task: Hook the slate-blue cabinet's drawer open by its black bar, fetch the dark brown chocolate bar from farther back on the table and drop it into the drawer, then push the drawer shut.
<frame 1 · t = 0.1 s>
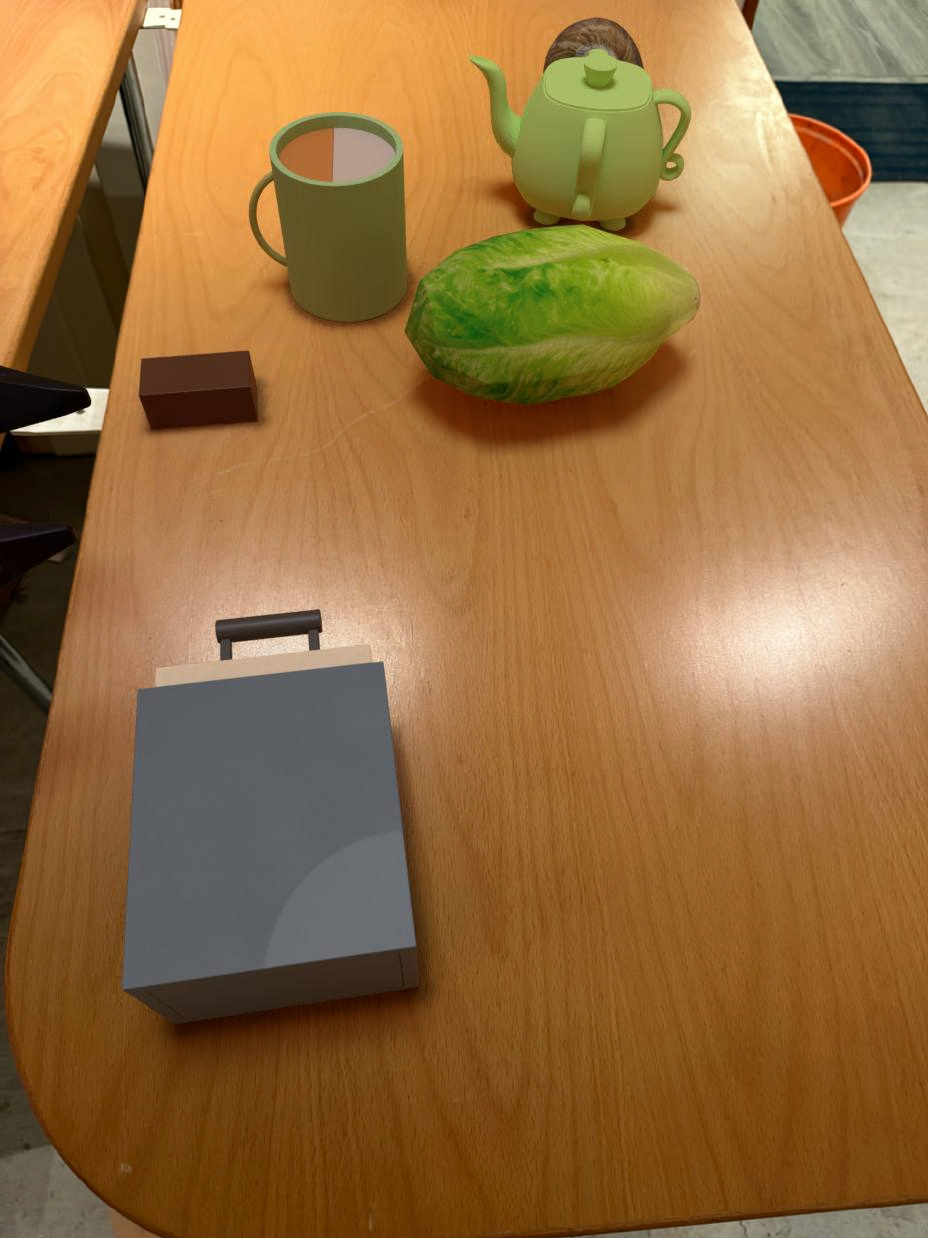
hand: (82, 460, 45), 16 cm above the table, tool horizontal, fingers open, 9 cm apart
mug: (335, 284, 78), on the table
cabinet: (291, 867, 50), on the table
chocolate bar: (205, 407, 69), on the table
seashell: (592, 109, 95), on the table
teapot: (568, 201, 86), on the table
lettuce: (546, 380, 72), on the table
drawer: (277, 761, 49), point 5 cm above the table, slide at 0.5 cm
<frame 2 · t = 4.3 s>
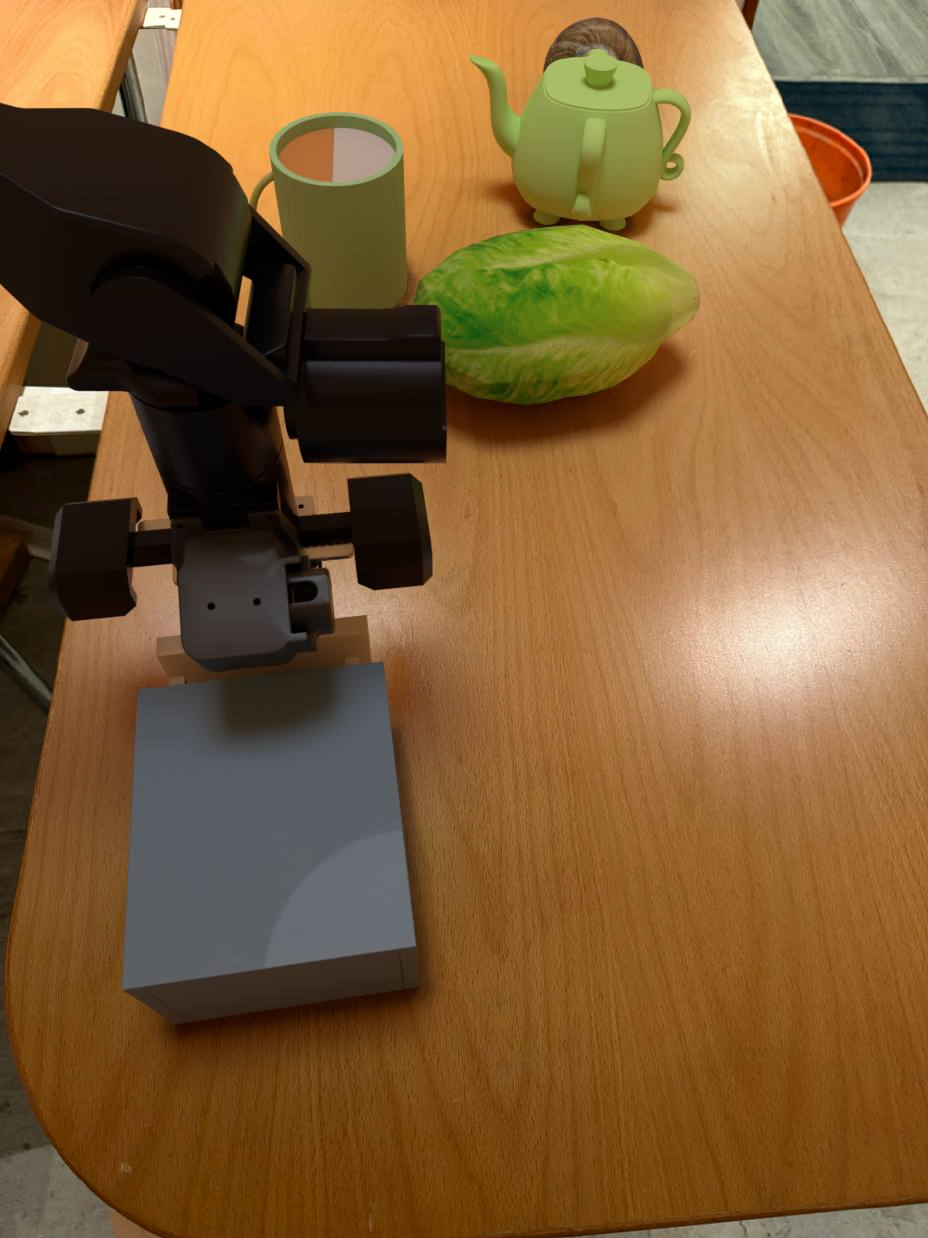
hand: (271, 629, 53), 5 cm above the table, tool pointing down, fingers closed, pressing on drawer
drawer: (275, 730, 50), point 5 cm above the table, slide at 2.4 cm, touching gripper
everything else where it was.
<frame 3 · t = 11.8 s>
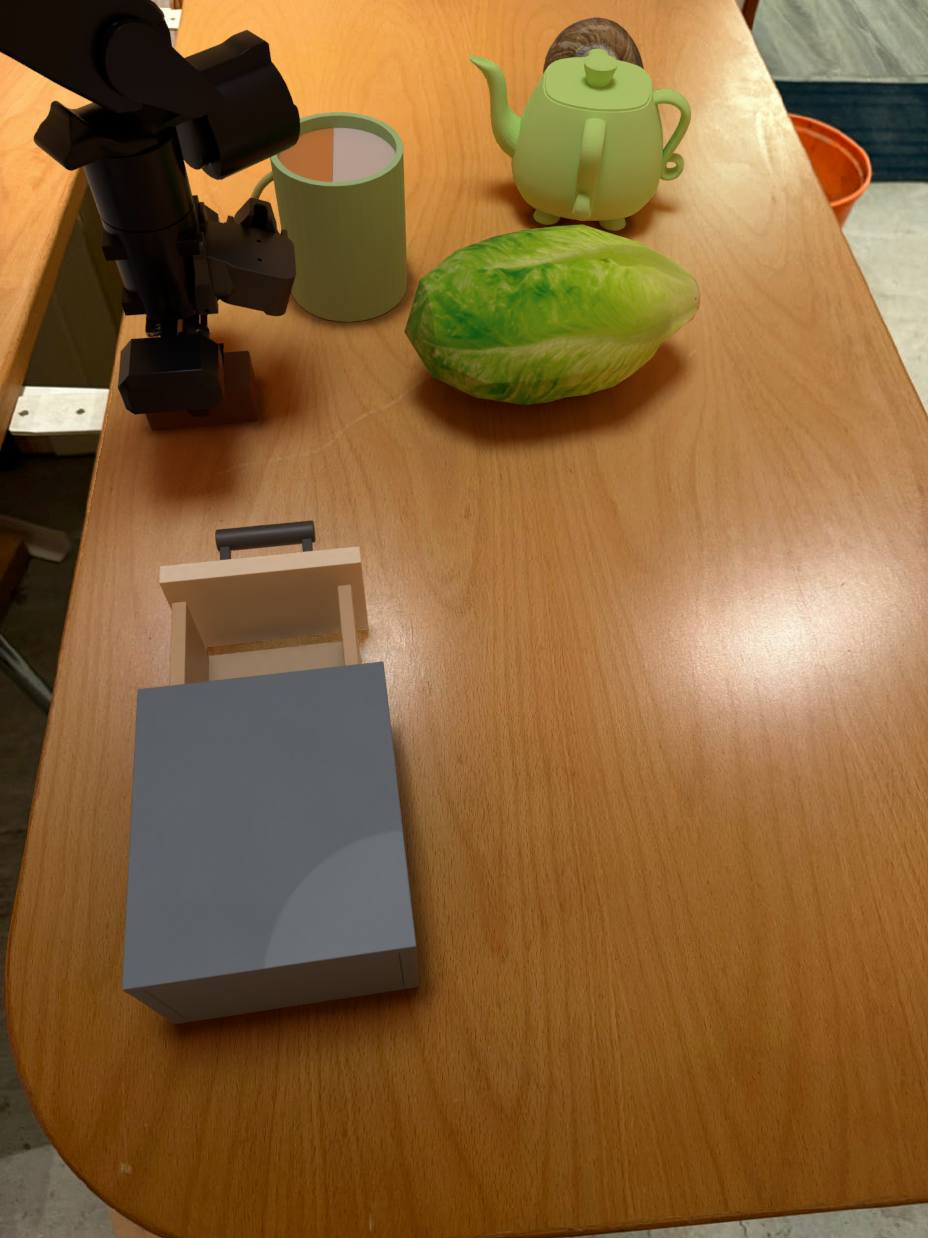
hand: (201, 395, 68), 1 cm above the table, tool pointing down, fingers closed on chocolate bar, 4 cm apart
chocolate bar: (205, 406, 69), on the table, touching gripper
drawer: (272, 656, 52), point 5 cm above the table, slide at 7.2 cm
everything else where it was.
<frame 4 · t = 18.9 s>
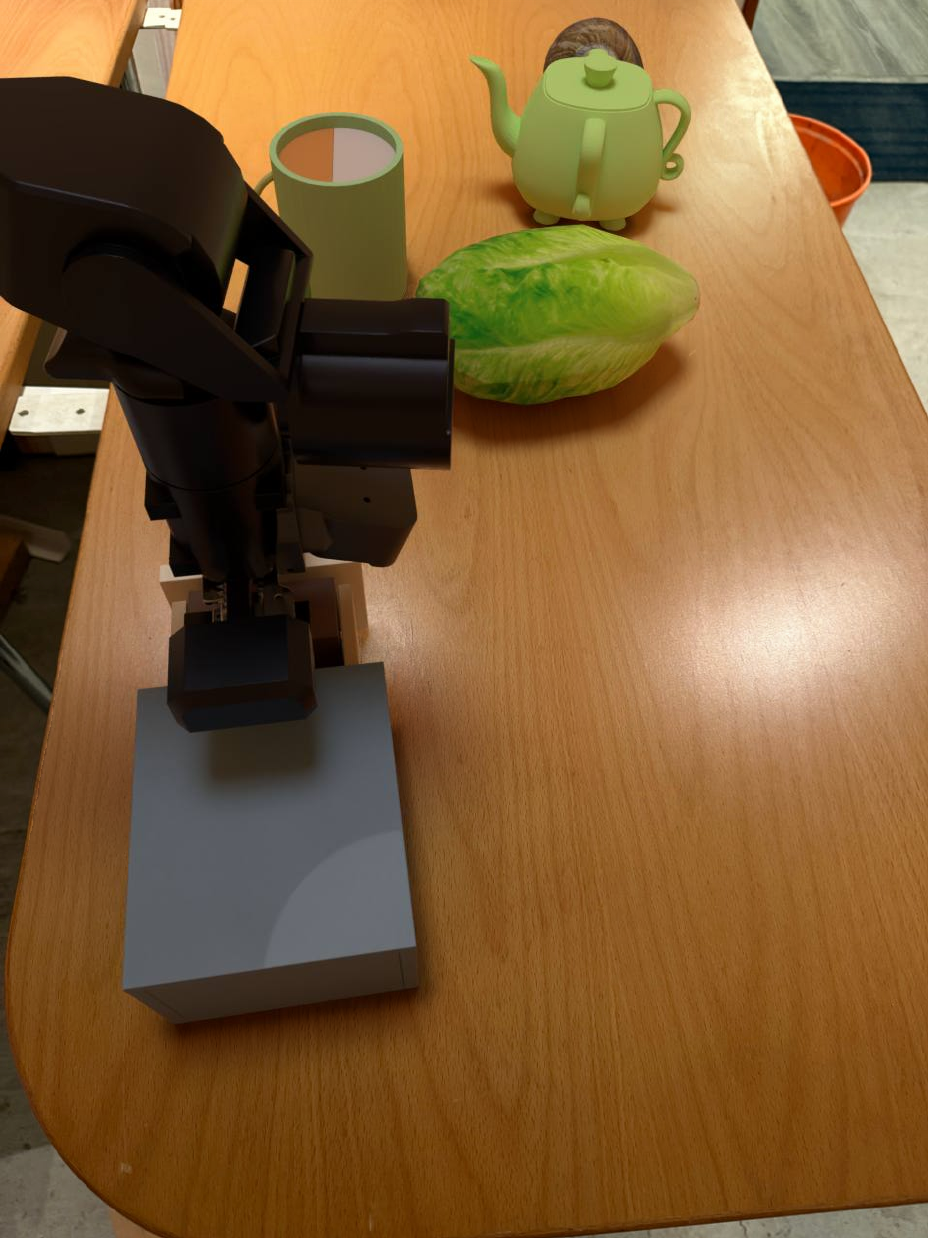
hand: (267, 635, 51), 7 cm above the table, tool pointing down, fingers closed on chocolate bar, 4 cm apart
chocolate bar: (272, 646, 52), point 5 cm above the table, touching gripper
everything else where it was.
when the fingers open (9 cm above the table, at t = 27.8 s): chocolate bar drops 6 cm, resting on drawer.
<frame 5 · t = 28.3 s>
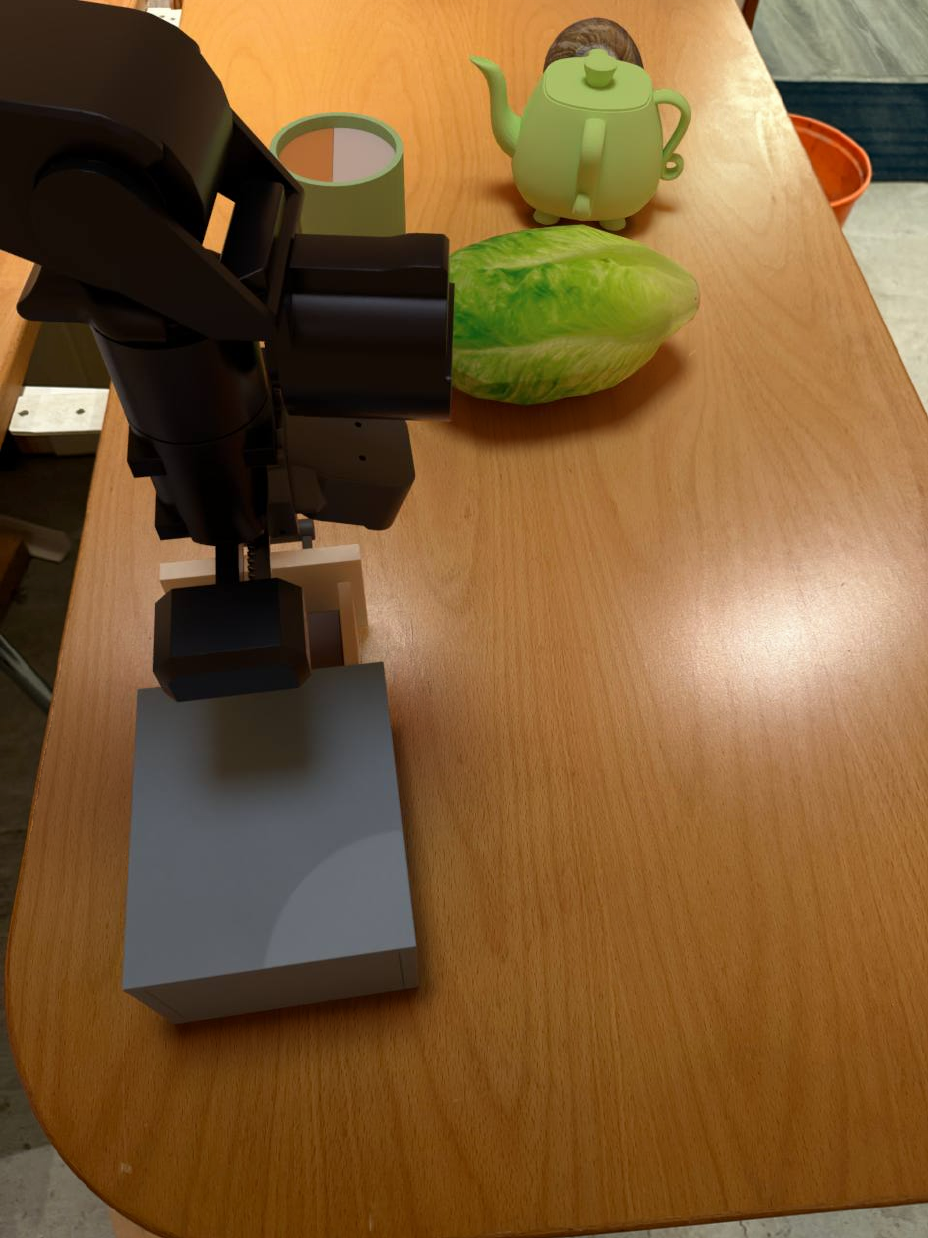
hand: (260, 605, 49), 9 cm above the table, tool pointing down, fingers open, 8 cm apart
chocolate bar: (280, 674, 55), point 2 cm above the table, touching drawer
drawer: (272, 653, 52), point 5 cm above the table, slide at 7.4 cm, touching chocolate bar
everything else where it was.
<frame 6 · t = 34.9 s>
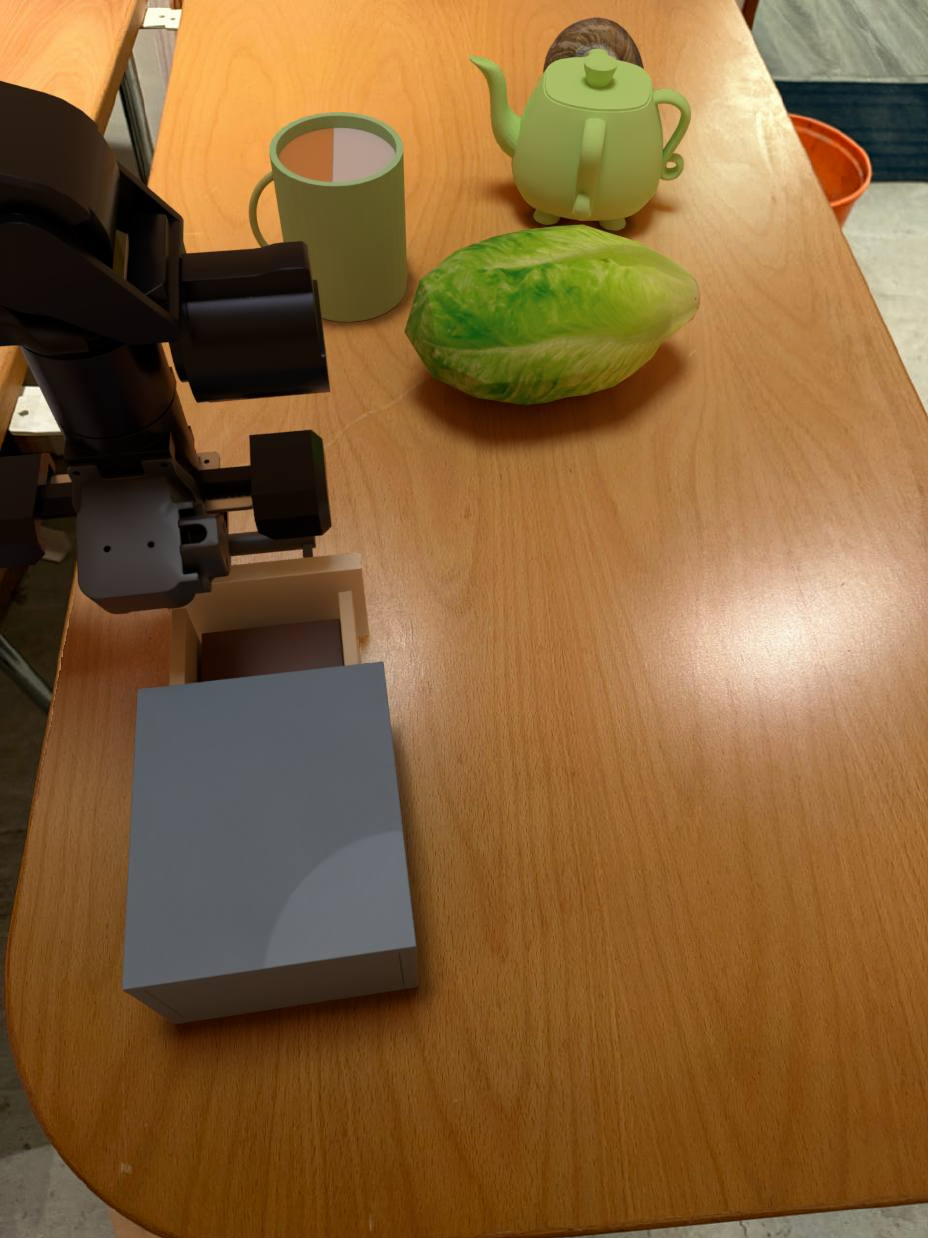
hand: (188, 584, 55), 4 cm above the table, tool pointing down, fingers closed, pressing on drawer
drawer: (273, 662, 52), point 5 cm above the table, slide at 6.8 cm, touching chocolate bar, gripper
everything else where it was.
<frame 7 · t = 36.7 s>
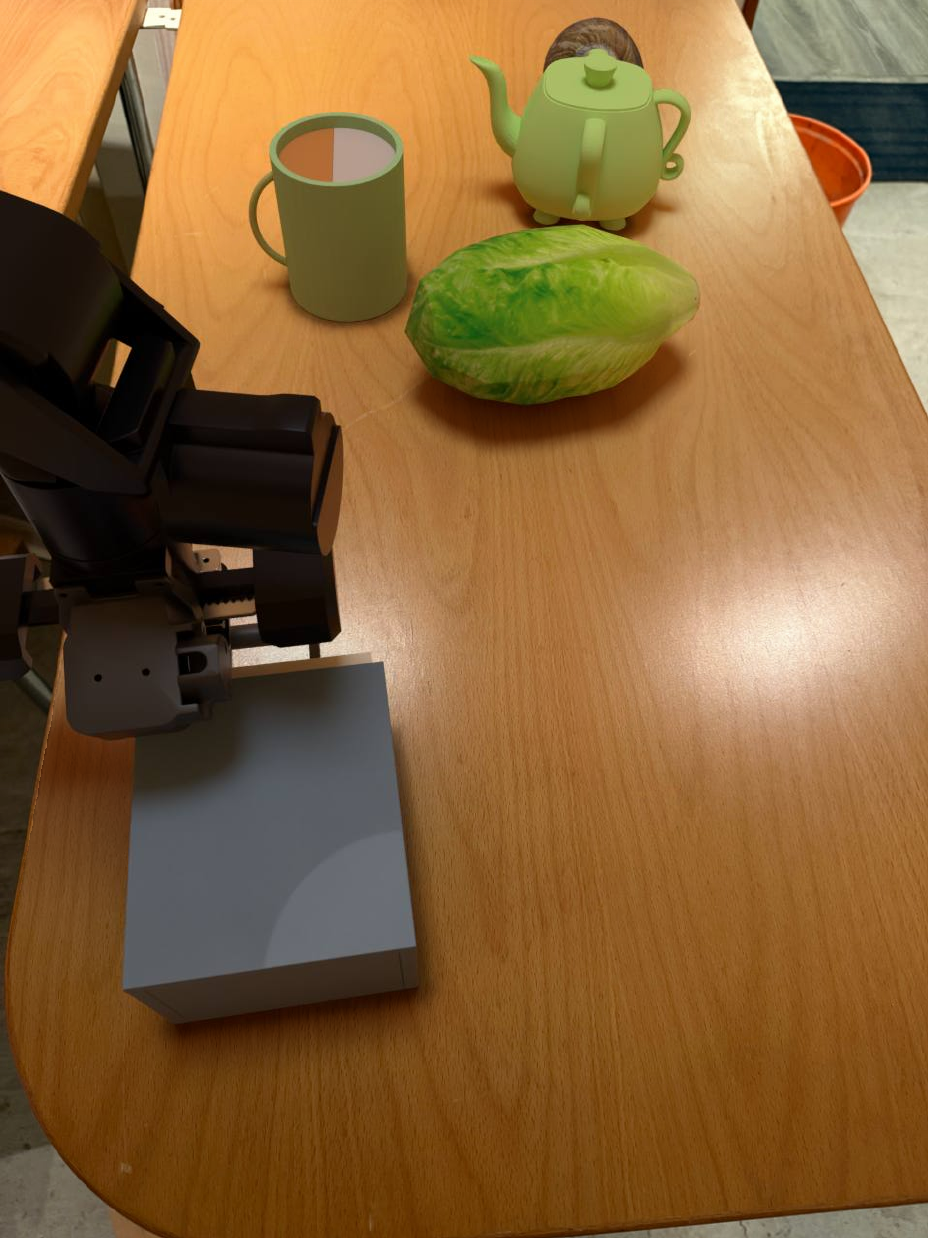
hand: (187, 678, 52), 4 cm above the table, tool pointing down, fingers closed, pressing on drawer
chocolate bar: (285, 789, 51), point 2 cm above the table, touching drawer
drawer: (277, 770, 48), point 5 cm above the table, slide at 0.0 cm, touching cabinet, chocolate bar, gripper
everything else where it was.
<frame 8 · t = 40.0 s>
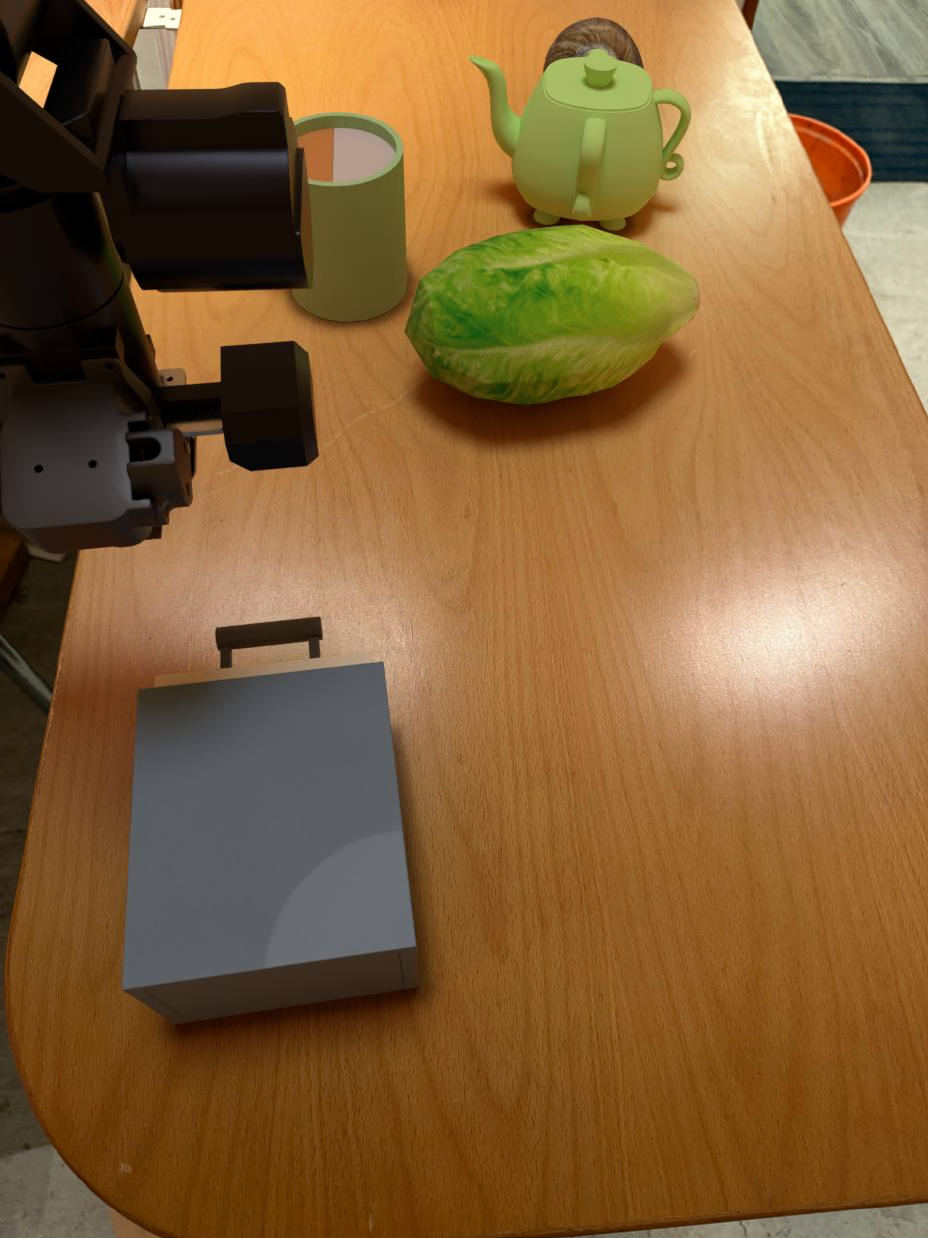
hand: (154, 533, 48), 12 cm above the table, tool pointing down, fingers closed
drawer: (277, 770, 48), point 5 cm above the table, slide at 0.0 cm, touching chocolate bar
everything else where it was.
at the end: drawer pulled out 7.4 cm at the most during the clip, back to where it started at the end; chocolate bar inside the target area in the cabinet (3.9 cm from its centre), point 2.0 cm above the cabinet's base; drawer slide at 0.0 cm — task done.
